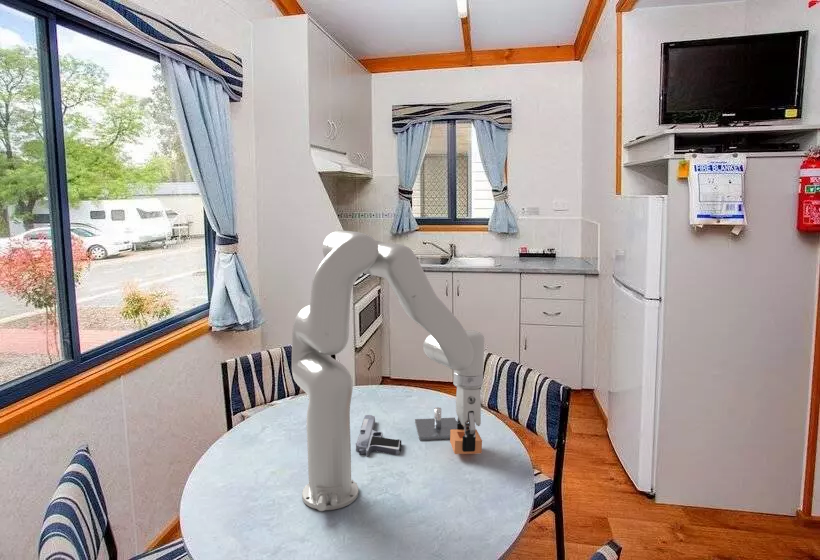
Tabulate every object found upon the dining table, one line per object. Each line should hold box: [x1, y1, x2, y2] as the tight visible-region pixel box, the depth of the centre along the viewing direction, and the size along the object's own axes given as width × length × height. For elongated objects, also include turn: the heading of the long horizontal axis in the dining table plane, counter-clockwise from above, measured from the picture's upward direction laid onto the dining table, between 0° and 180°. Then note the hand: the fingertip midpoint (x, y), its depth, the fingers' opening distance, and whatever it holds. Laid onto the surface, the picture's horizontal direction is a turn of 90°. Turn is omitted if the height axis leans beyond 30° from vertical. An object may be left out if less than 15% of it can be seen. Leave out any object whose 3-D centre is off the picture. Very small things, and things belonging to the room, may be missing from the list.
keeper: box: [414, 406, 458, 441], centre depth 153 cm, size 12×12×6 cm
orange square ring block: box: [449, 429, 483, 455], centre depth 139 cm, size 7×7×4 cm
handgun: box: [355, 414, 402, 458], centre depth 148 cm, size 2×22×12 cm
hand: (465, 443), depth 139 cm, fingers closed on orange square ring block, 7 cm apart
